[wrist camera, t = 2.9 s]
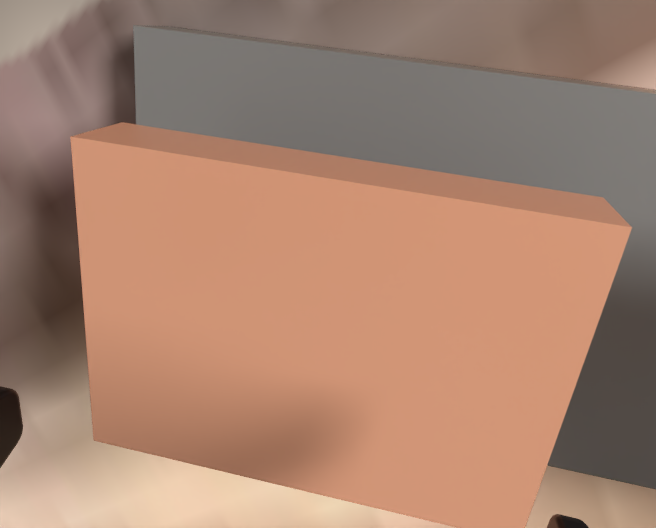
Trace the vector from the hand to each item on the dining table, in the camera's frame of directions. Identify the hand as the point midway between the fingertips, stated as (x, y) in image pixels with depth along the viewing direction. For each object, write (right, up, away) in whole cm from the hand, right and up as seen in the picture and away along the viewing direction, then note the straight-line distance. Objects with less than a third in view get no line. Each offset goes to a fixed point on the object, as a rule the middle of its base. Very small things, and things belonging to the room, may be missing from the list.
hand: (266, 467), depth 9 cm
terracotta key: (+1, +3, +6) cm, 7 cm away
